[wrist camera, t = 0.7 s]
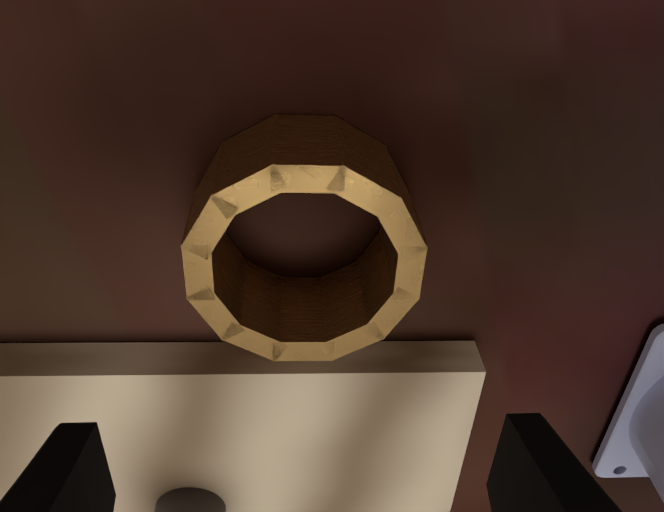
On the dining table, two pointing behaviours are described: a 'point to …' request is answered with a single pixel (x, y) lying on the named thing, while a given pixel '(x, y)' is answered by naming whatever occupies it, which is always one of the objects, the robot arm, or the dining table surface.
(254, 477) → the piston block
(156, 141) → the dining table surface
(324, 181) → the wooden ring
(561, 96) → the dining table surface
